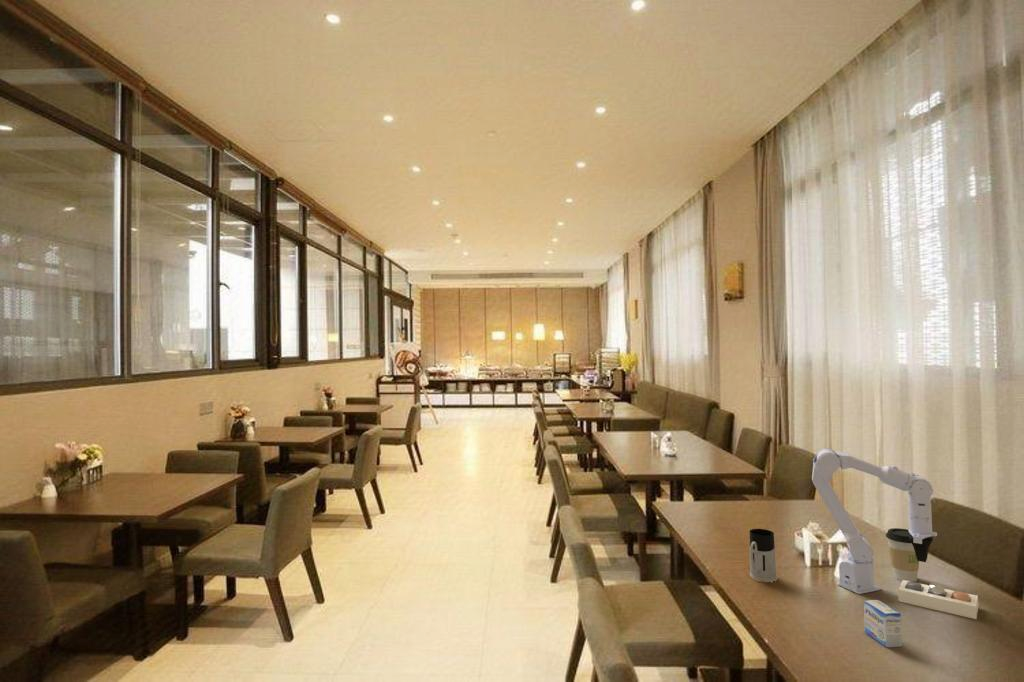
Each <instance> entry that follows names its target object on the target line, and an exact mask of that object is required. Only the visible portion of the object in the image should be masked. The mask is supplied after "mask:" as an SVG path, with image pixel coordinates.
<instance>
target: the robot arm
mask: <svg viewBox="0 0 1024 682" xmlns="http://www.w3.org/2000/svg"><path fill="white" fill-rule="evenodd" d="M812 460H813V461H812V464H813V465H812V474H811V481H812V484H813V486H814V487H815V489H816V490H817V492H818V494H819V496H820V497H821V499H822V501H823V502H824V505H825V506H826V508H827V509H828V511H829V513H830V515H831V516H832V517H833V519H834V521H835V523H836V524H837V526H838V528H839V530H840V531H841V533H842V535H843V537H844V539H845V541H846V545H847V546H846V547H847V548H848V549H849V550H848V551H849V552H848V553H847V554H846V558H845V560H843V561H841V562H840V563H839V567H838V570H839V572H838V573H839V574H838V575H839V582H837V585H838V586H840V587H842V588H845V589H846V590H849V591H851V592H854V593H855V594H858V595H862V594H867V593H872V592H876V591H881V590H882V587H880V586H878V585H875V567H874V558H873V557H874V550H873V548H872V546H871V545H870V542H869V540H868V538H867V537H866V536H865V535H863V534H862V533H861V531H859V529H858V528H857V526H856V525H855V523H854V521H853V519H852V518H851V516H850V515H849V512H848V511H847V509H846V507H845V506H844V504H843V502H842V501H841V500H840V498H839V496H838V494H837V493H836V491H835V489H834V488H833V486H832V484H831V480H832V477H833V475H834V474H835V473H836V472H837V471H838V470H839V469H841V470H847V469H855V470H857V471H860V472H863V473H866V474H869V475H871V476H874V477H878V479H879V481H880V483H883V484H885V485H887V486H890V487H893V488H895V489H898V490H900V491H903V492H908V502H907V503H908V505H907V506H908V529H907V530H909V533H910V534H911V536H909V540H910V542H911V543H912V545H913V547H914V550H915V554H916V558H917V560H918V561H919V562H922V563H926V562H927V561H928V556H929V549H930V546H931V544H932V542H933V541H934V537H937V536H938V533H937V531H933V522H932V521H933V519H932V518H933V516H932V502H931V496H932V495H933V493H934V489H933V486H932V484H931V483H930V482H929V481H928V480H927V479H926V478H925V477H923V476H920V475H919V474H916V473H915V472H911V471H910V472H908V471H905V470H903V469H899V468H898V466H896V465H894V464H892V466H891V465H885V466H879V465H877V464H874V463H872V462H870V461H868V460H867V461H866V460H864V459H861V458H859V457H857V456H854V455H851V454H850V453H846V452H843V451H839V450H835V451H834V450H833V449H831V448H829V447H823V448H821V449H819V450H818V451H816V454H815V456H814V458H813V459H812Z"/></svg>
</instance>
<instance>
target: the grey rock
mask: <svg viewBox="0 0 1024 682" xmlns="http://www.w3.org/2000/svg"><path fill="white" fill-rule="evenodd" d="M929 587H930V594H934V595H938V596H943V597H945V589H946V587H945V586H944V585H943V584H940V583H936V582H935V583H934V582H930V583H929Z"/></svg>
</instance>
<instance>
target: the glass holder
mask: <svg viewBox="0 0 1024 682" xmlns="http://www.w3.org/2000/svg"><path fill="white" fill-rule="evenodd" d="M749 568H750V569H749V570H750V572H749V574H750V576H751V577H752V578H754V579H757V580H760V581H765V582H764V583H766V582H771V581H772V582H771V583H774V582H773V581H775V582H777V581H778V580H777V578H778V577H777V569H776V568H777V563H776V546H775V532H774V531H771V530H769V529H764V528H752V529H750V530H749ZM776 580H777V581H776Z"/></svg>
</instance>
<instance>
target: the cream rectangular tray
mask: <svg viewBox="0 0 1024 682" xmlns="http://www.w3.org/2000/svg"><path fill="white" fill-rule="evenodd" d="M907 582H910V581H906V580H902V581H901V583H900V584H899V587H898V589H897V594H898V595H897V596H898V602H899V603H900V602H901V603H905V604H909V605H913V606H918V607H922V608H926V609H931V610H934V611H939V612H942V613H943V612H944V613H948V614H951V615H956V616H961V617H964V618H970V619H973V620H977V618H978V612H979V596H978V595H977V594H976V595H975V594H973V593H972V594H971V593H967V594H968V595H969V602H966V601H961V600H957V599H953V592H954V591H955V590H952V589H948V588H945V597H943V596H938V595H934V594H930V587H929V585H928V584H924V583H920V582H918V583H919V584H921V585H922V592H920V591H915V590H911V589H907Z"/></svg>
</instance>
